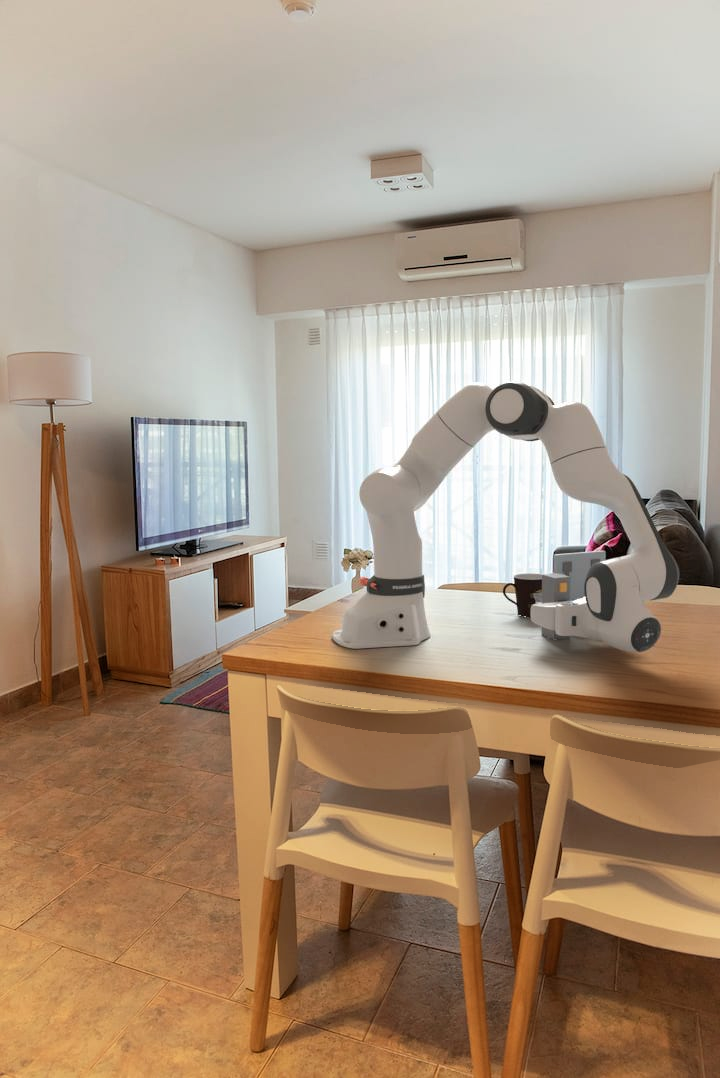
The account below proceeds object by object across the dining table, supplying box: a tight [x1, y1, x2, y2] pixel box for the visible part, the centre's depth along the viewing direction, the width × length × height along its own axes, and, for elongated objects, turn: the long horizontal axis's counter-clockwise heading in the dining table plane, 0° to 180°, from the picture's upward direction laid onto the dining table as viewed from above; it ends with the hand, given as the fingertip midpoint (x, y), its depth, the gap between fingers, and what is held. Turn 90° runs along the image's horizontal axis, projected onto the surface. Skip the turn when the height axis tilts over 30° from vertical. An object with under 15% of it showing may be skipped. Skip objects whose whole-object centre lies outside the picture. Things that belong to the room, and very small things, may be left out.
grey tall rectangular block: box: [541, 573, 570, 641], centre depth 167 cm, size 4×6×14 cm
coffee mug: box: [502, 573, 543, 617], centre depth 189 cm, size 12×9×10 cm
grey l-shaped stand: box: [552, 550, 607, 601], centre depth 176 cm, size 14×10×17 cm
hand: (556, 603), depth 167 cm, fingers open, 8 cm apart
